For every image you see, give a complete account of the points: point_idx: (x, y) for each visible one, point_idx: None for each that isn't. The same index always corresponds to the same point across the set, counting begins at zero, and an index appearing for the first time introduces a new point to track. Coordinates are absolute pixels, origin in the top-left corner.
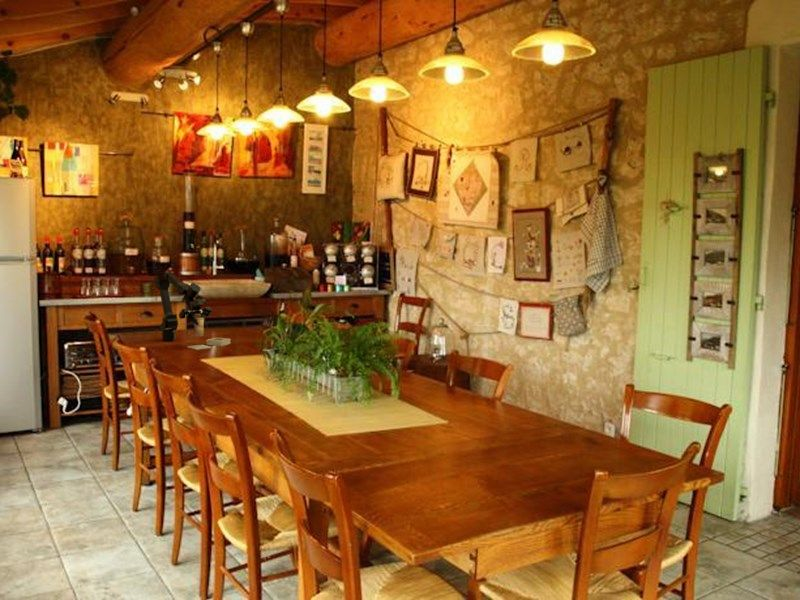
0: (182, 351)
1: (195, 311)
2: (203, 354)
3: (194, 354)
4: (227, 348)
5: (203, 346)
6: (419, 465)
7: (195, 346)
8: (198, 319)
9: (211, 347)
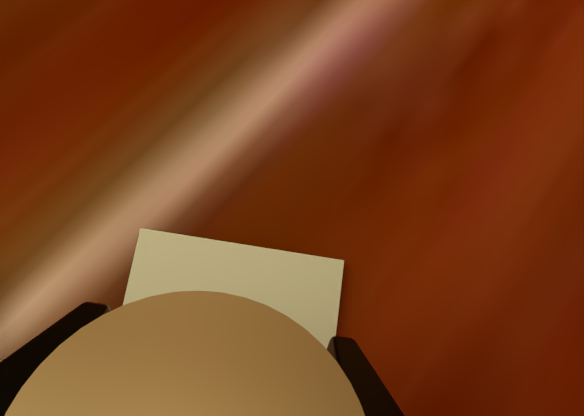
0: (494, 300)
1: None
2: (439, 44)
3: (497, 97)
4: (27, 117)
5: None
6: None
7: None
8: (345, 392)
9: (152, 230)
